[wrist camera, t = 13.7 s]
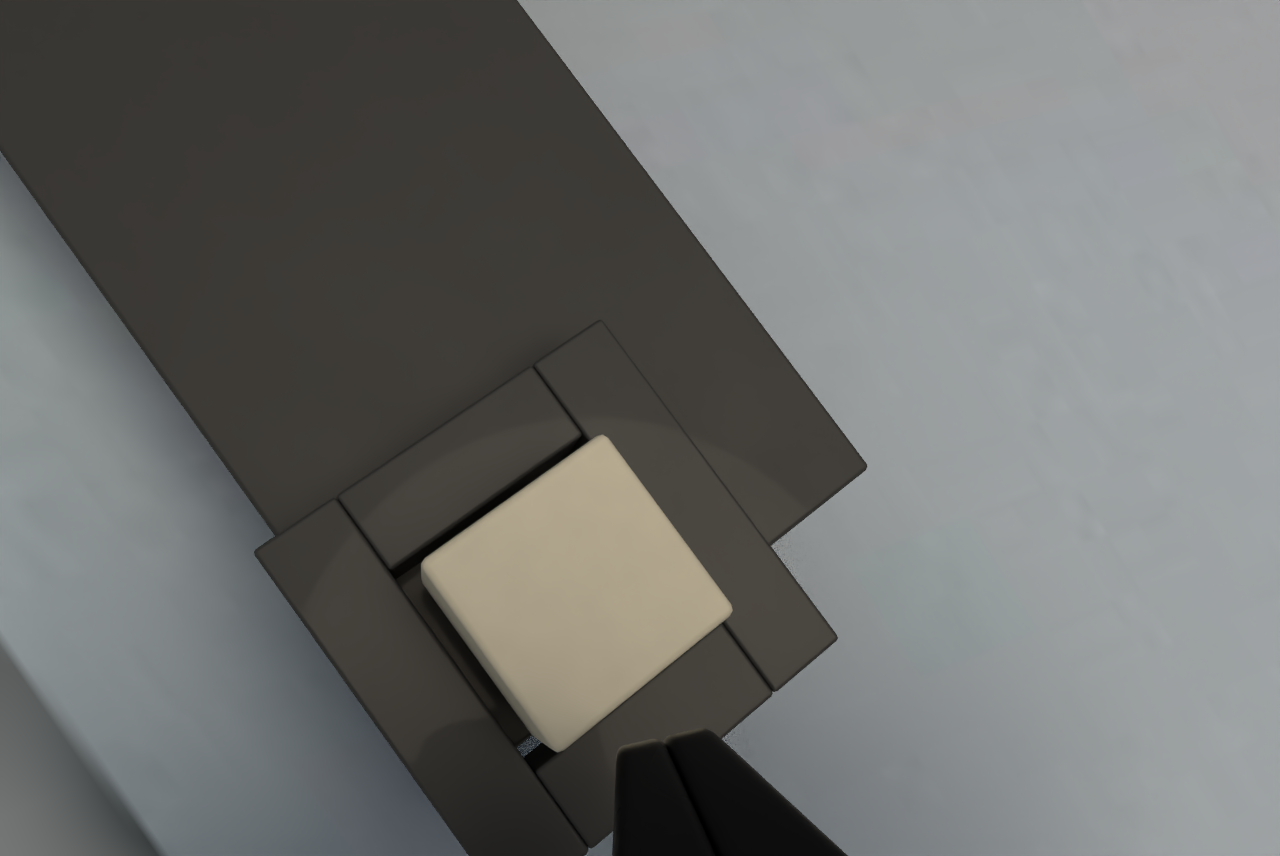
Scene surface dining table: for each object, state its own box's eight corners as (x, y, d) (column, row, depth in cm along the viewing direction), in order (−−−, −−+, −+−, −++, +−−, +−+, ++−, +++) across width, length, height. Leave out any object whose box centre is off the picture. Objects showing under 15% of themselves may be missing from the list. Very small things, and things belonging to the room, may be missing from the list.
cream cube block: (689, 618, 14) (739, 610, 12) (535, 740, 14) (557, 756, 11) (576, 464, 14) (604, 428, 12) (417, 578, 14) (416, 562, 11)
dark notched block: (825, 558, 21) (979, 520, 15) (484, 836, 18) (512, 918, 13) (264, -194, 22) (207, -498, 16) (-127, -20, 19) (-358, -304, 14)
